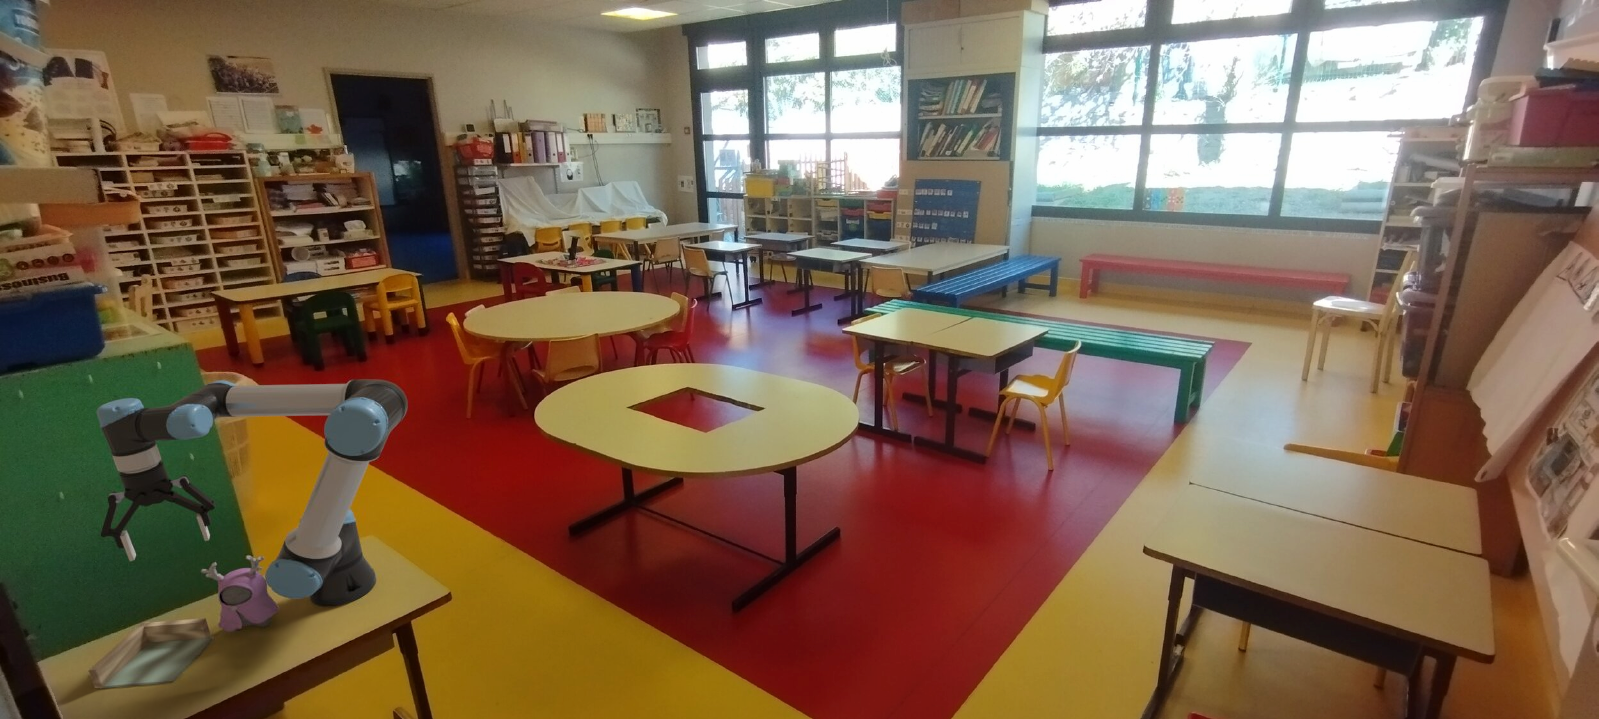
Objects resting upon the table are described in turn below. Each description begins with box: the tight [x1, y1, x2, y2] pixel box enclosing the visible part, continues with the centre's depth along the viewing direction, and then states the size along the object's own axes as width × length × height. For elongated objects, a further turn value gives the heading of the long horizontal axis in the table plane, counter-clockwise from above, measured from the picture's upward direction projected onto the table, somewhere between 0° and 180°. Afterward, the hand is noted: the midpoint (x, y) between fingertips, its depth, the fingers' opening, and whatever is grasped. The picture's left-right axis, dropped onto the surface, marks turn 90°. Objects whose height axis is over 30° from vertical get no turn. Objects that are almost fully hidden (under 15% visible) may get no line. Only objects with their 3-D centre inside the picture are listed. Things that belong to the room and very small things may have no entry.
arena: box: [88, 617, 214, 689], centre depth 167 cm, size 16×16×5 cm
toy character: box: [200, 555, 280, 633], centre depth 174 cm, size 12×10×20 cm
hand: (171, 548), depth 169 cm, fingers open, 13 cm apart
